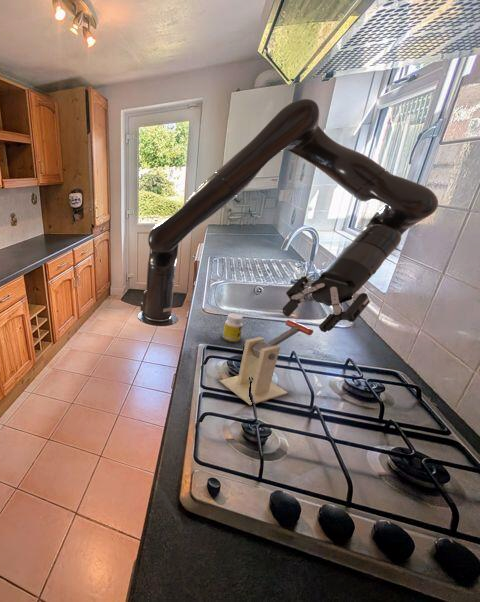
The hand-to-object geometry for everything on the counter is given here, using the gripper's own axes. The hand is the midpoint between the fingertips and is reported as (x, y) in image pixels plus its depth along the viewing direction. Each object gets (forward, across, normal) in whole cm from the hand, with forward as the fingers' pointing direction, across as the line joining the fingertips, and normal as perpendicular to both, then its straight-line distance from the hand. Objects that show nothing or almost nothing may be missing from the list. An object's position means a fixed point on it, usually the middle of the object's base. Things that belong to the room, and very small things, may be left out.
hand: (302, 321), depth 68 cm
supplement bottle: (+10, -20, +13) cm, 26 cm away
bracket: (+19, 0, +4) cm, 19 cm away
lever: (+7, 0, -1) cm, 7 cm away
